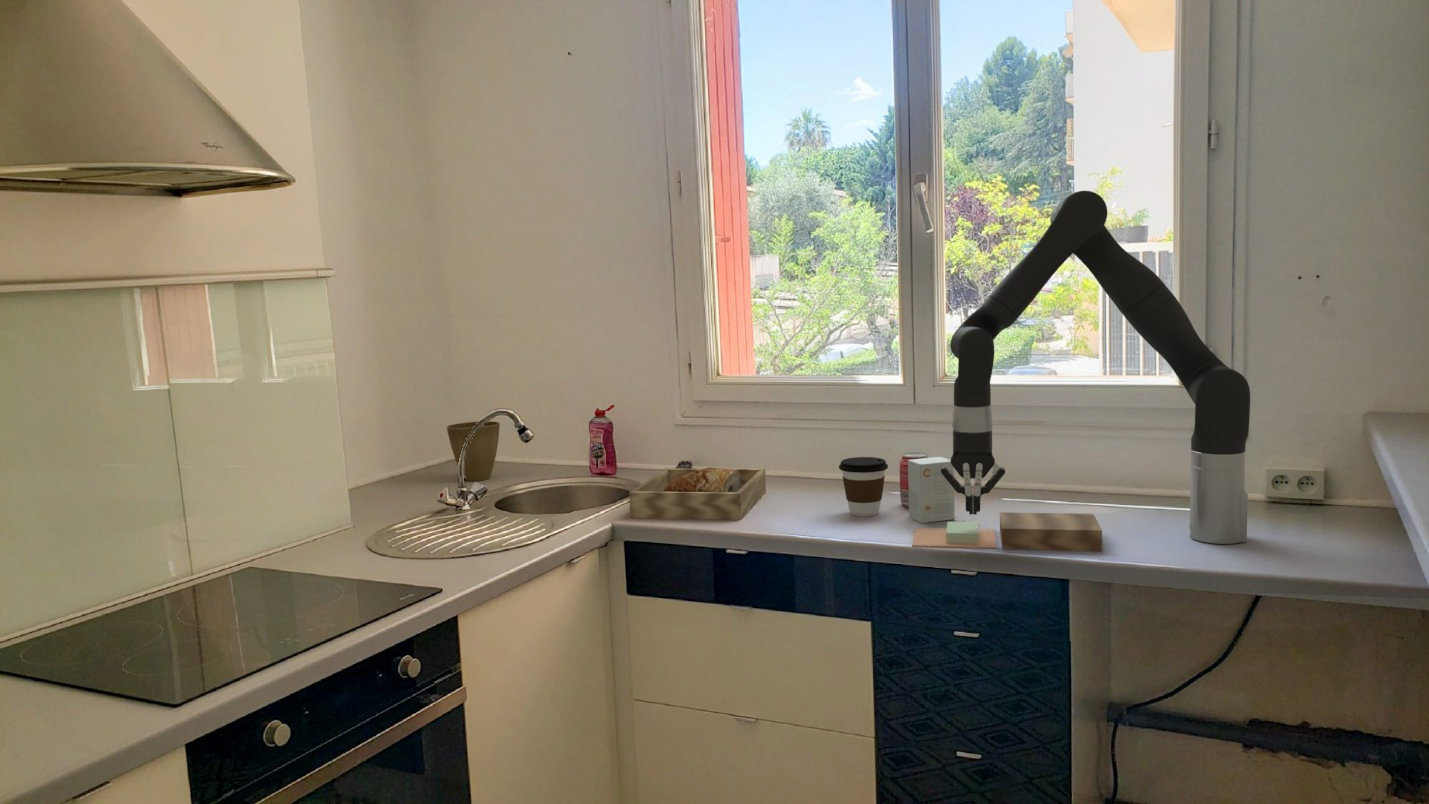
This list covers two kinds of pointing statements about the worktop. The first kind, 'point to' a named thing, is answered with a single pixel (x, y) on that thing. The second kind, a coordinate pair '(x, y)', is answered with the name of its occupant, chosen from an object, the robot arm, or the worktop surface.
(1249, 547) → the worktop surface
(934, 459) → the small box
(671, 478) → the bread crate
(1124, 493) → the worktop surface
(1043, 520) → the board
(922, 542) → the mat
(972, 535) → the pale green foam block
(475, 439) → the plant pot
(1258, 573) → the worktop surface
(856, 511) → the coffee cup
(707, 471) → the bread
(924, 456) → the soda can
